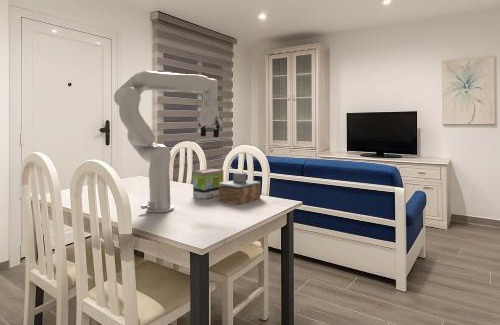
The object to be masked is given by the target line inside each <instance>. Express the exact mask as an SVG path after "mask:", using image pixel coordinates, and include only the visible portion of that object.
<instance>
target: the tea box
mask: <svg viewBox="0 0 500 325" xmlns="http://www.w3.org/2000/svg"><path fill="white" fill-rule="evenodd" d="M192 173H193V174H192V175H193V176H192V196H193V198H198V199H201V200H202V199H203V200H206V199H209V198H210V199H211V198H214V197H219V186H221V185H219V183H222V182H224V169H217V168H205V169H201V170H199V169H198V170H194V171H193V172H192Z"/></svg>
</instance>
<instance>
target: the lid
mask: <svg viewBox="0 0 500 325" xmlns="http://www.w3.org/2000/svg"><path fill="white" fill-rule="evenodd" d="M256 184H260V185H261V181H257V180H251V179H246V183H241V184H240V183H233V180H228V181H227V180H226V181H223V182H222V183H219V185H223V186H228V187H234V188H242V187H247V186H251V185H256Z"/></svg>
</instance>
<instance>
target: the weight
mask: <svg viewBox="0 0 500 325" xmlns="http://www.w3.org/2000/svg"><path fill="white" fill-rule="evenodd" d="M246 180H247V172H233V173H232V181H233V183H240V184H241V183H246Z"/></svg>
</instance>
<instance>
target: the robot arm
mask: <svg viewBox="0 0 500 325" xmlns="http://www.w3.org/2000/svg"><path fill="white" fill-rule="evenodd" d="M218 84H219V83H218V79H216V78H209V77H208V76H205V75H201V74H190V73H189V74H186V73H176V72H175V73H172V72H160V71H150V70H144V71H140V72H137V73H135V74H133V75H132V76H131V77H130V78H129V79H128V80H127V81H126V82H125V83H123V84H122V85H121V86H120V87H118V89H117V90H115V92H114V95H113V100H114V103H115V104H116V106H119V107H118V113H119V114H118V115H119V118H120V121H121V122H122V124H123V125H124V127H125V128H126V129H127V139H128V142H129V144H130V145H131V146H132V147H133V149H134V150H135V152H136V153H138V155H139V156H140V157H141V158H142V160H144V161H145V162H146V163H149V169H148V182H149V185H148V186H149V188H148V189H149V200H148V201H147V203H146V204H141V206H140V209H141V210H145V209H146V211H147V212H148V213H154V214H155V213H156V214H158V213H159V214H161V213H167V212H172V211H174V209H175V206H174V205H172V204H171V182H170V181H171V178H170V169H171V168H170V167H171V166H170V165H171V159H172V156H171V151H170V149H169V148H168V147H167V146H166V145H164V144H160V143H155V141H156V134H155V132H154V131H153V129H152V127H150V125H149V124H148V123H147V122H146V120H145V119H144V118H143V116H142V115H141V112H140V108H139V106H140V103H141V100H142V99H141V98H142V97H141V96H142V94H143V92H144V91H145V92H146V91H155V92H157V91H158V92H169V93H170V92H172V93H173V92H175V93H176V92H186V91H190V92H191V93H194V94H196V93H202V105H201V107H200V115H199V119H198V120H197V123H198V126H199V129H200V137H206V136H207V130H206V128H207V126H212V127H213V138H219V137H220V135H219V134H220V129H221V127H222V124H223V120H222V119H221V118H220V115H219V114H220V113H219V112H220V111H219V106H218V96H219V94H218V89H219V87H218Z"/></svg>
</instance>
